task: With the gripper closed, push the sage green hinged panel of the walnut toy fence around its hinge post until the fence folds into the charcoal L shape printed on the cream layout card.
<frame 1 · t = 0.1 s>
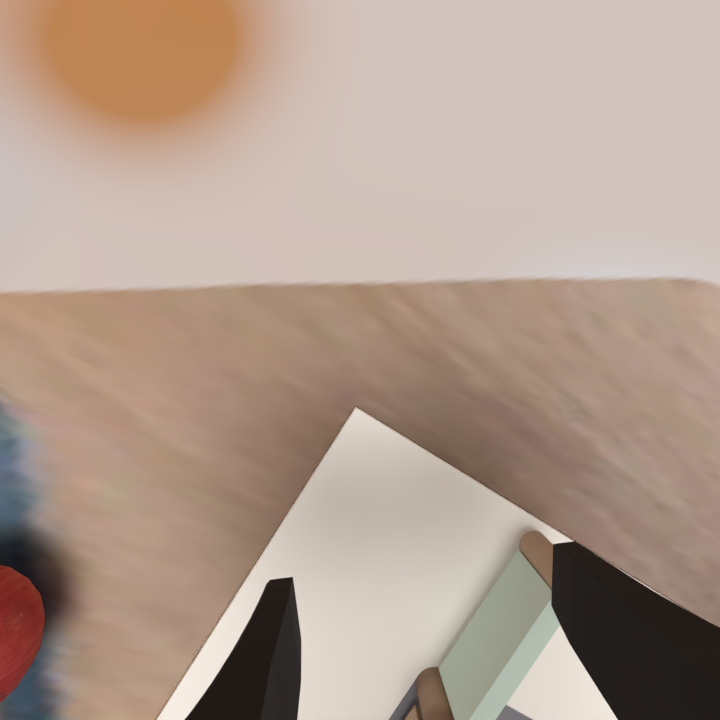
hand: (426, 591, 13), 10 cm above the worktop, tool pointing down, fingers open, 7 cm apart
onion: (20, 587, 23), on the worktop
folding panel: (513, 638, 21), point 3 cm above the worktop, hinge at 0.0°
fixed fence: (432, 683, 24), resting on layout card
layout card: (431, 678, 24), on the worktop
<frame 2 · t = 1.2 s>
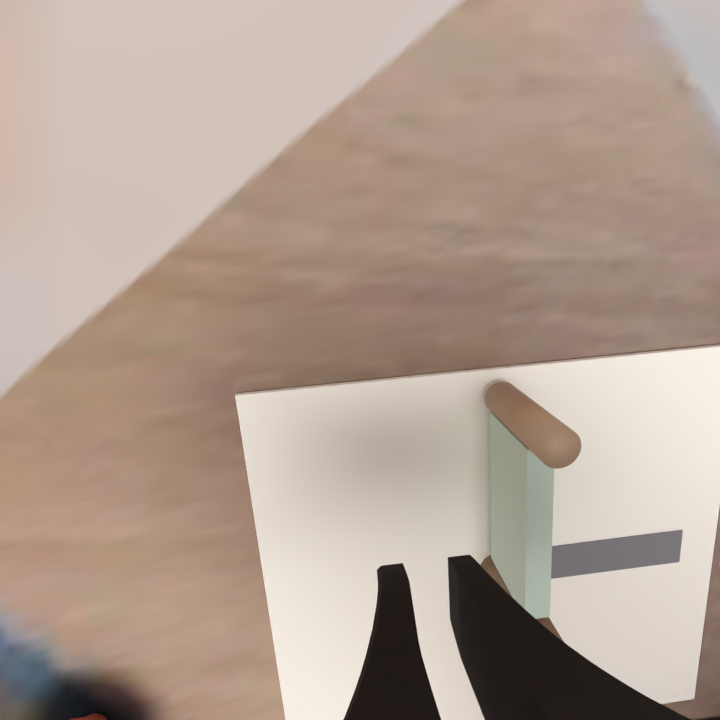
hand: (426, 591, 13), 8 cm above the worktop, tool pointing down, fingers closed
onion: (101, 715, 23), on the worktop
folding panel: (525, 504, 18), point 3 cm above the worktop, hinge at 0.0°
fixed fence: (497, 569, 22), resting on layout card
layout card: (495, 564, 23), on the worktop
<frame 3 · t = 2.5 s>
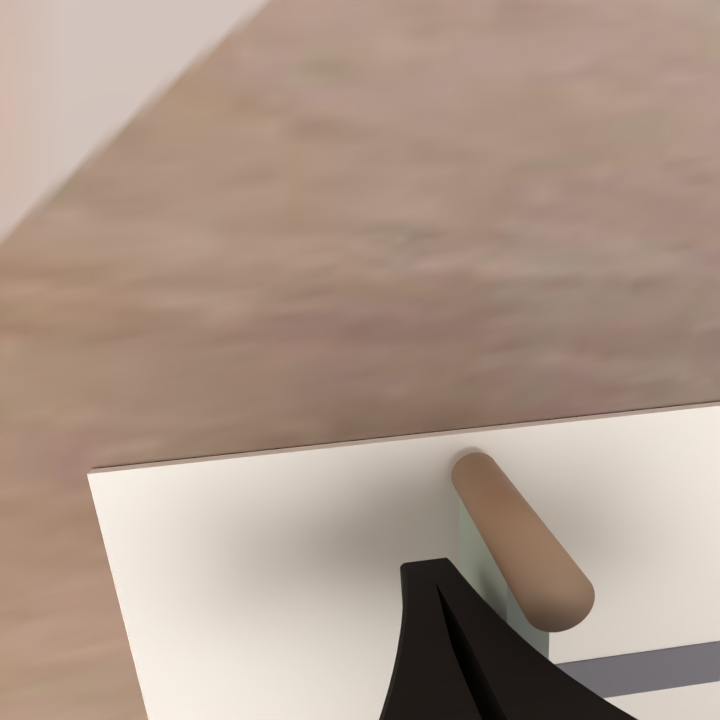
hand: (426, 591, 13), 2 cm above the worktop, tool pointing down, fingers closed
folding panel: (507, 643, 12), point 3 cm above the worktop, hinge at 0.0°, touching gripper
layout card: (471, 687, 17), on the worktop
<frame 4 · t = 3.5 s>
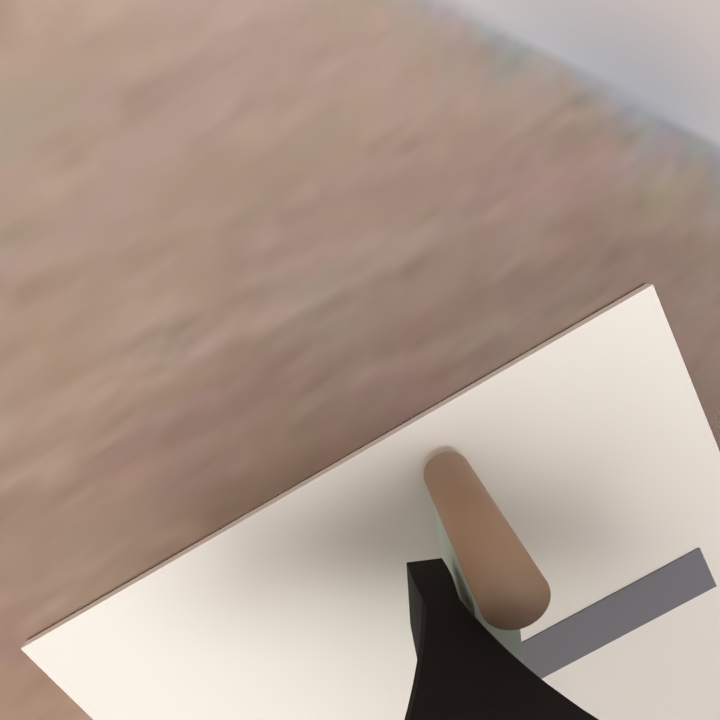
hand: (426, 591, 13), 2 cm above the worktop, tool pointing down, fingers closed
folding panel: (486, 640, 12), point 3 cm above the worktop, hinge at 21.4°, touching gripper
layout card: (468, 684, 17), on the worktop
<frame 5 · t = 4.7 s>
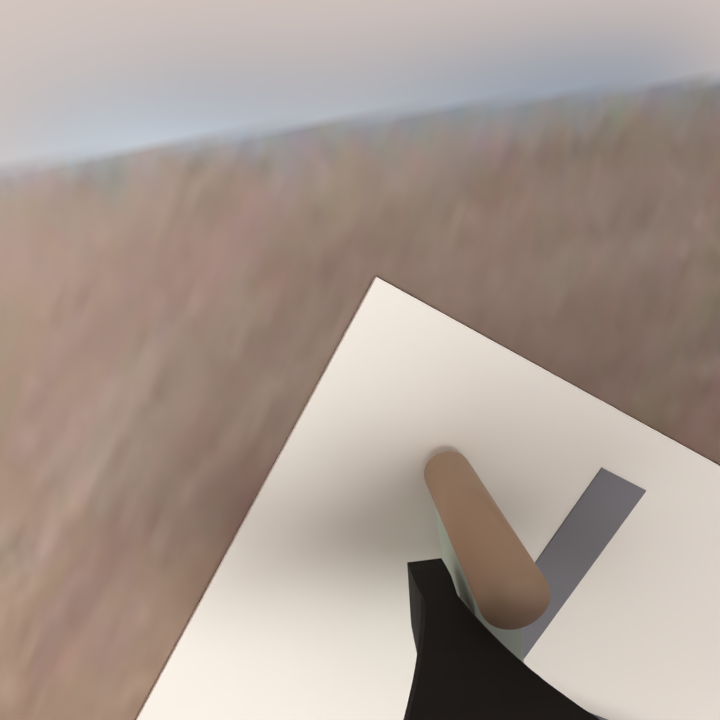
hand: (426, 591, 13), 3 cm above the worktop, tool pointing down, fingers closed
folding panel: (487, 639, 12), point 3 cm above the worktop, hinge at 52.2°, touching gripper
layout card: (469, 682, 17), on the worktop
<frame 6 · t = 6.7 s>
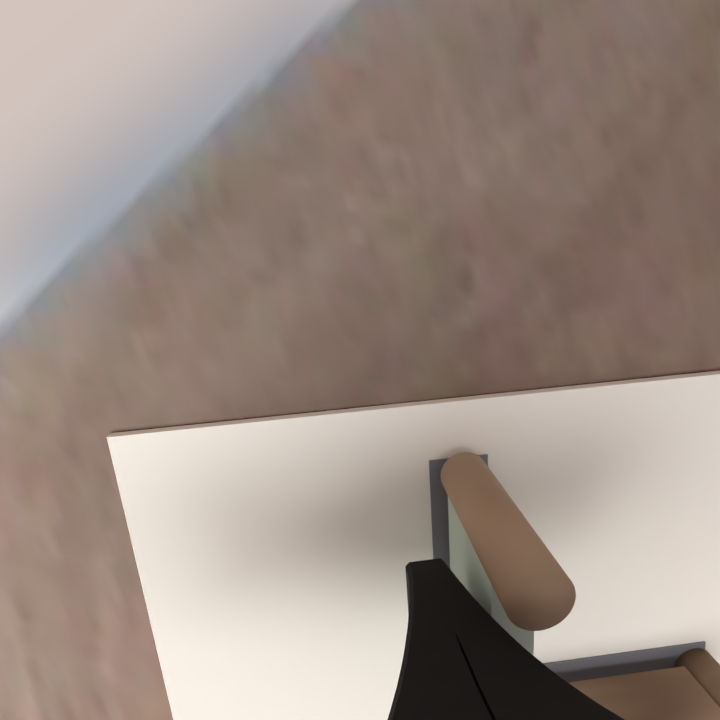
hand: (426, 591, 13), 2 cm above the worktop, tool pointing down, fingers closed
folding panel: (494, 642, 12), point 3 cm above the worktop, hinge at 90.1°, touching gripper
fixed fence: (464, 694, 17), resting on layout card
layout card: (462, 686, 17), on the worktop
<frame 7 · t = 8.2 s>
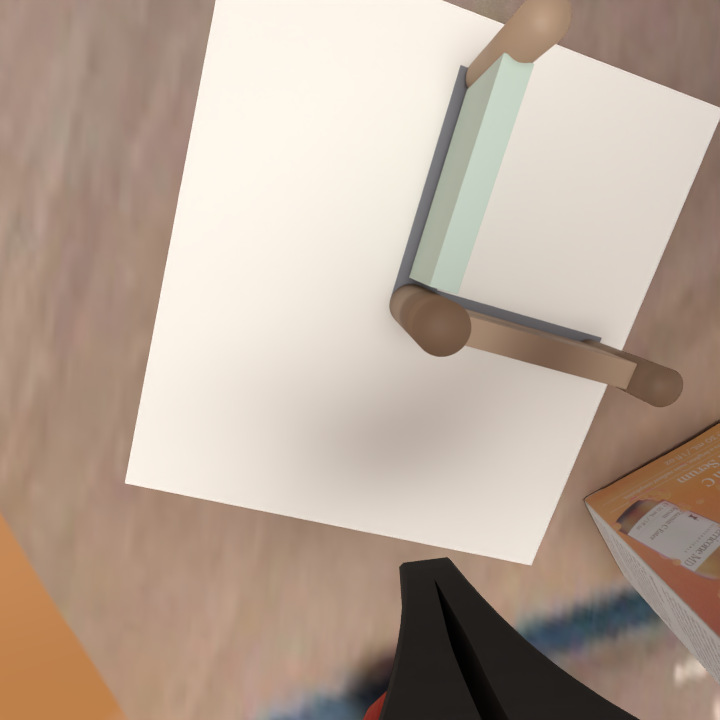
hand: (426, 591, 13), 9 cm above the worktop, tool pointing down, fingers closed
onion: (402, 683, 26), on the worktop
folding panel: (474, 165, 16), point 3 cm above the worktop, hinge at 90.1°
fixed fence: (410, 304, 20), resting on layout card
layout card: (408, 303, 20), on the worktop
small box: (666, 497, 24), on the worktop
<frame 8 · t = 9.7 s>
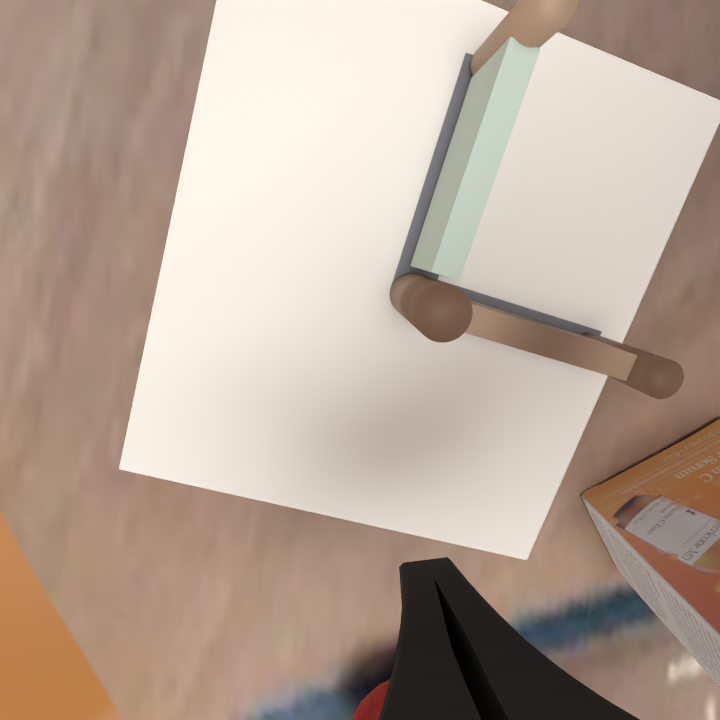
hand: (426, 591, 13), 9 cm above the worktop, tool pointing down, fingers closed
onion: (395, 678, 26), on the worktop
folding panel: (478, 151, 16), point 3 cm above the worktop, hinge at 90.1°
fixed fence: (410, 294, 20), resting on layout card
layout card: (409, 293, 20), on the worktop
small box: (663, 494, 24), on the worktop
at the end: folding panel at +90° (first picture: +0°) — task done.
